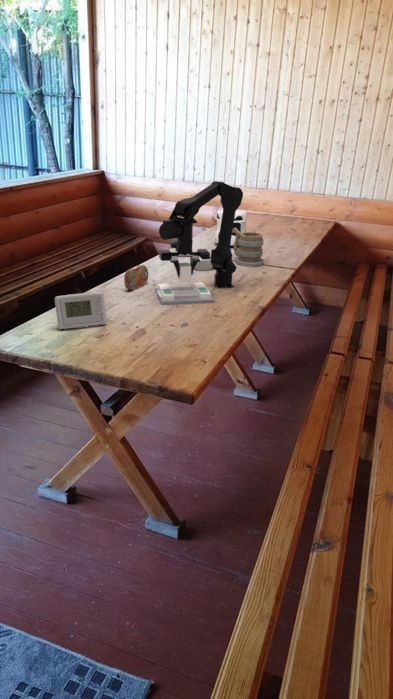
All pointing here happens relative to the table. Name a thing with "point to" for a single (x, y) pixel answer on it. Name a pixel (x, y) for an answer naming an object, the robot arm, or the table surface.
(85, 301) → the digital clock
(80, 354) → the table surface
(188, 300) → the rail board
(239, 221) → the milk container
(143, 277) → the tin
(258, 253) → the tankard
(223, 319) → the table surface
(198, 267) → the ramekin
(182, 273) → the block
